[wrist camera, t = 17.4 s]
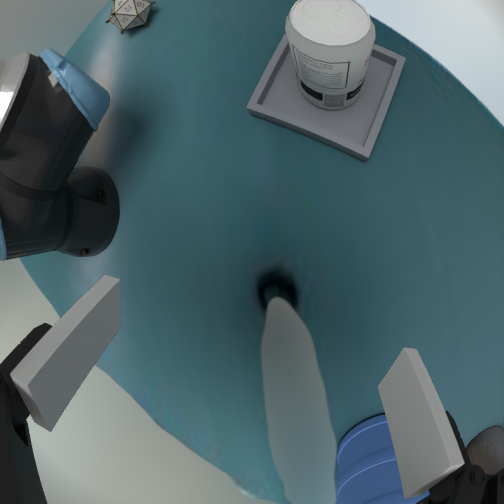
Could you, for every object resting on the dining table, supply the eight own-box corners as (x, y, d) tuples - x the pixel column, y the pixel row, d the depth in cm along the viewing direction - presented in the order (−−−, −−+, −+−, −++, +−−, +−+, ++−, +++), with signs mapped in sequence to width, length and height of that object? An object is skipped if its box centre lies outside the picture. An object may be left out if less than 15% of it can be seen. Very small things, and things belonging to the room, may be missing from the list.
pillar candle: (464, 467, 34) (483, 516, 19) (461, 442, 34) (486, 496, 19) (503, 443, 31) (529, 487, 17) (504, 415, 31) (536, 461, 17)
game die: (143, 29, 42) (109, 4, 35) (172, 5, 38) (136, -24, 30) (125, 50, 39) (86, 22, 32) (155, 22, 34) (113, -10, 27)
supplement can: (288, 72, 34) (267, 4, 19) (342, 52, 32) (345, -20, 17) (316, 120, 34) (310, 63, 19) (372, 99, 32) (395, 37, 17)
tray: (251, 115, 37) (246, 107, 34) (296, 28, 33) (294, 17, 30) (364, 162, 34) (368, 157, 31) (401, 67, 31) (405, 58, 28)
